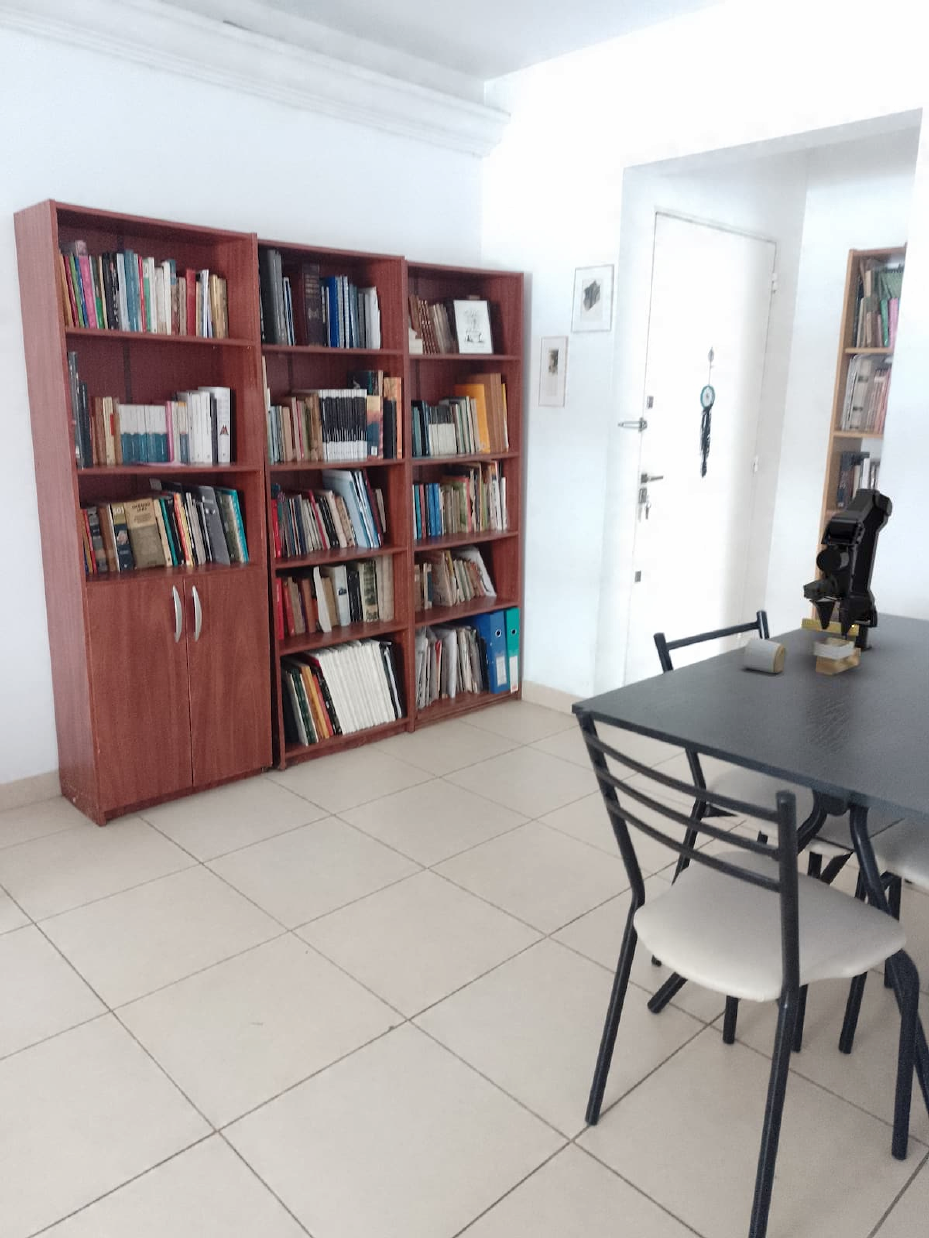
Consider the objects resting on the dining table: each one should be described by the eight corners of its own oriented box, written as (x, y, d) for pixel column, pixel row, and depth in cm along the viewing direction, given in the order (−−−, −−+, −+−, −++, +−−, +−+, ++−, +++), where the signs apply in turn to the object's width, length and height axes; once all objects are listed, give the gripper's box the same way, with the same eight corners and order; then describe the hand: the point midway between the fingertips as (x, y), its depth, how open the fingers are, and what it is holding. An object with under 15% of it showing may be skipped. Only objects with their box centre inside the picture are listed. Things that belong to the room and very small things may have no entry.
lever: (858, 634, 225) (860, 624, 225) (856, 636, 223) (857, 626, 222) (803, 626, 232) (804, 617, 232) (800, 628, 230) (801, 619, 229)
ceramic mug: (775, 677, 213) (778, 645, 212) (741, 670, 218) (744, 639, 217) (790, 668, 222) (794, 637, 220) (757, 662, 227) (760, 632, 225)
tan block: (843, 660, 229) (846, 632, 227) (859, 664, 226) (862, 635, 224) (815, 671, 219) (818, 642, 217) (831, 675, 216) (835, 645, 214)
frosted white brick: (828, 649, 224) (829, 637, 223) (852, 654, 220) (853, 641, 219) (813, 654, 218) (814, 642, 218) (837, 659, 214) (839, 647, 214)
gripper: (787, 564, 226) (782, 626, 229) (835, 575, 209) (829, 642, 212) (826, 563, 229) (821, 624, 232) (877, 574, 211) (870, 640, 214)
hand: (833, 632), depth 222 cm, fingers open, 7 cm apart
